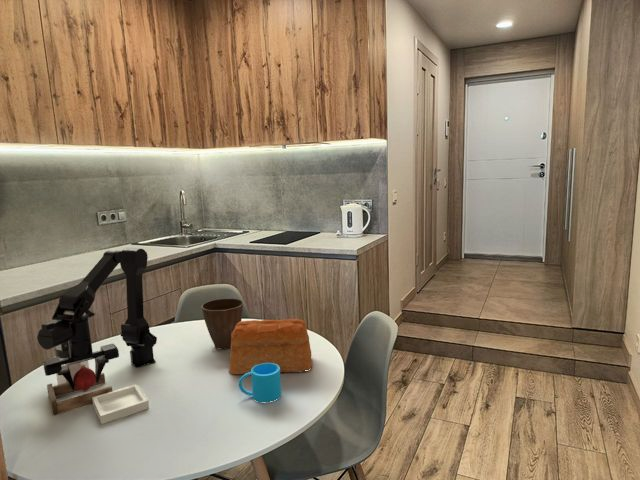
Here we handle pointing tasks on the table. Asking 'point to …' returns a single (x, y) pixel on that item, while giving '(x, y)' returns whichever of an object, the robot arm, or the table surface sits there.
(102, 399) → the tray
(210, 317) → the plant pot
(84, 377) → the onion
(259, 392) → the mug
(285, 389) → the table surface
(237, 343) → the bread
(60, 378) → the jar
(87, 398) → the bay
